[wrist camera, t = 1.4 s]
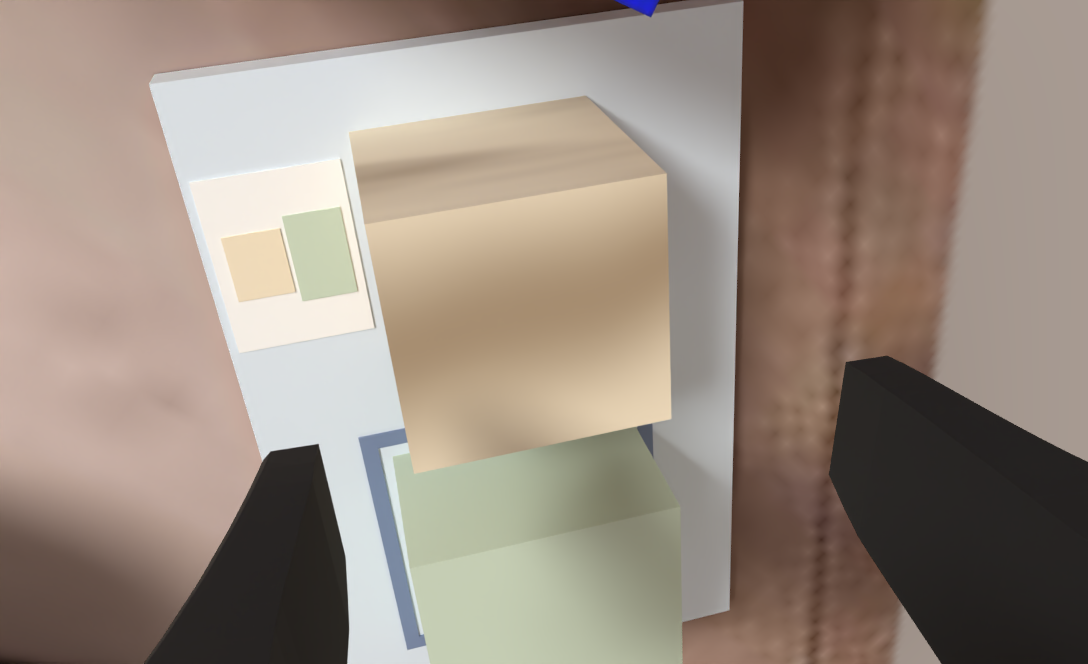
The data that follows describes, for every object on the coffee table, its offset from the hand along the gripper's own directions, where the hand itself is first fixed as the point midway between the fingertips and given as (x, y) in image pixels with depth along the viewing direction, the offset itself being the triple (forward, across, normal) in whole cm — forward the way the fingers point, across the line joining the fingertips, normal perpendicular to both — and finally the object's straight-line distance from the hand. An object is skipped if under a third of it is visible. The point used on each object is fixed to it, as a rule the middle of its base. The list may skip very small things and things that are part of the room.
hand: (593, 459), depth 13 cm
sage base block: (+9, 0, +9) cm, 13 cm away
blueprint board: (+10, 0, +6) cm, 11 cm away
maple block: (+9, 0, +1) cm, 9 cm away
